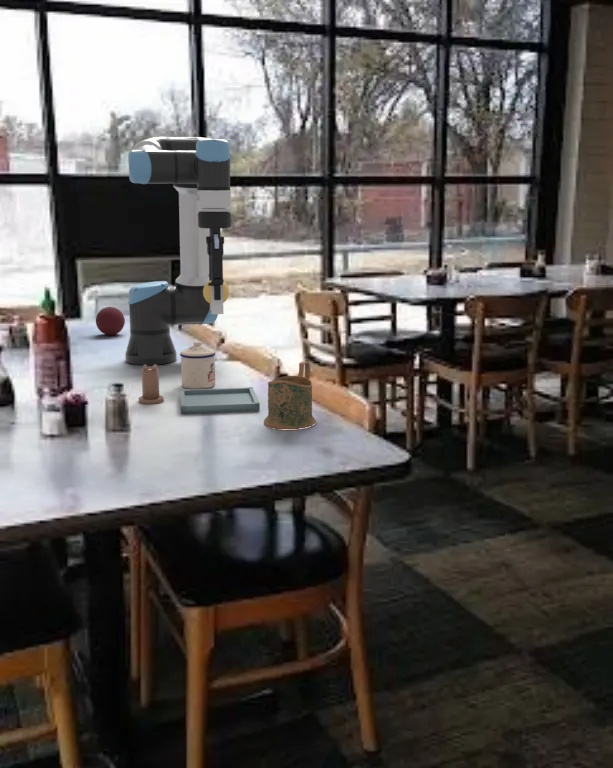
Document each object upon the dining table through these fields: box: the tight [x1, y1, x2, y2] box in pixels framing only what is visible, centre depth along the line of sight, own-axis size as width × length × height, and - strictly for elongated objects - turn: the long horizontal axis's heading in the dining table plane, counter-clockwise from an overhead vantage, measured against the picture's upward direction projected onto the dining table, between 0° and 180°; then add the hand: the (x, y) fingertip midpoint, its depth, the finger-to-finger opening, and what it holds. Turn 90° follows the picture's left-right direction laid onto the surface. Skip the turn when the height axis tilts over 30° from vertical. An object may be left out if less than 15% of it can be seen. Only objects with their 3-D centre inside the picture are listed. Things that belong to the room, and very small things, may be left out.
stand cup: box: [138, 364, 165, 405], centre depth 192 cm, size 6×6×9 cm
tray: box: [179, 386, 261, 415], centre depth 191 cm, size 16×18×2 cm
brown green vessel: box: [263, 360, 317, 430], centre depth 177 cm, size 12×18×12 cm, turn 161°
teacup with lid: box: [179, 341, 216, 390], centre depth 209 cm, size 12×9×12 cm
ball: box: [203, 280, 230, 304], centre depth 184 cm, size 6×6×6 cm
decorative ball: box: [95, 306, 126, 336], centre depth 281 cm, size 10×10×10 cm
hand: (216, 311), depth 186 cm, fingers closed on ball, 6 cm apart
